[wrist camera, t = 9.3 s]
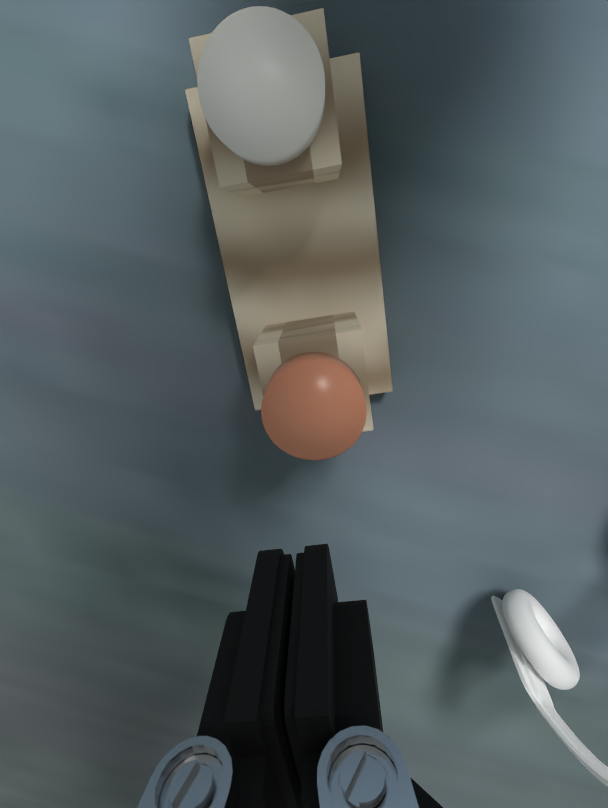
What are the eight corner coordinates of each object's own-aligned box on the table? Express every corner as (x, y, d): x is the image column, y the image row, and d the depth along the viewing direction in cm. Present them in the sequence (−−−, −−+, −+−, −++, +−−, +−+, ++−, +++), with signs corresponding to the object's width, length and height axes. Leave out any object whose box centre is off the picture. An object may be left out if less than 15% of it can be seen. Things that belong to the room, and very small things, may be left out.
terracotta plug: (270, 335, 28) (251, 370, 21) (350, 322, 28) (360, 354, 20) (284, 409, 30) (271, 466, 23) (359, 398, 30) (371, 453, 22)
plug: (225, 86, 25) (182, 21, 17) (317, 66, 24) (314, -8, 17) (244, 188, 26) (213, 169, 19) (330, 171, 26) (333, 146, 18)
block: (192, 97, 27) (145, 47, 20) (357, 62, 26) (370, -3, 19) (257, 403, 34) (240, 447, 27) (389, 384, 33) (407, 425, 26)
